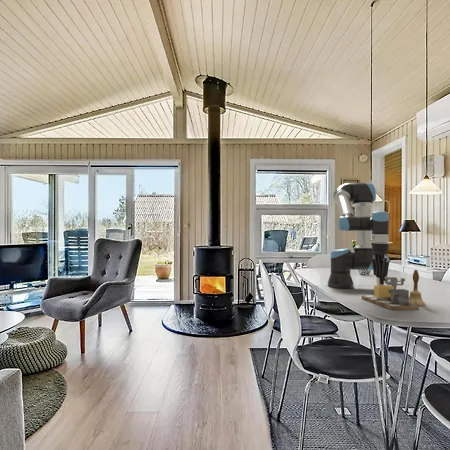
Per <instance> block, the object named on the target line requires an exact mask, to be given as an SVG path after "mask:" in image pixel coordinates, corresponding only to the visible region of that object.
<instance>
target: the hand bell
mask: <svg viewBox="0 0 450 450" xmlns="http://www.w3.org/2000/svg"><path fill="white" fill-rule="evenodd" d="M419 280H420V275H419V271H418V269H415V270H414V271H413V273H412V281H413V290H411V291H410V292H409V302H410V303H411V304H414V305H417V306H425V305H427V304H426V303H425V302H424V299H423V298H422V293H421V292H420V291H419V290H418V288H419V287H418V286H419V285H418V283H419Z"/></svg>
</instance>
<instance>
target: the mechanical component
mask: <svg viewBox="0 0 450 450" xmlns="http://www.w3.org/2000/svg"><path fill="white" fill-rule="evenodd" d="M405 281H406V279H405V277H404V278H403V277H400V280H399V279H398V277H392V276H387V277H385V278H384V285H390V286H394V289H398V287H397V286H403V285H404V282H405Z"/></svg>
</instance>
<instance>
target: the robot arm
mask: <svg viewBox="0 0 450 450" xmlns="http://www.w3.org/2000/svg"><path fill="white" fill-rule="evenodd" d="M333 200H334V203H335V204H336V207H337V209H338V214H339V217H338V218H337V228H338V230H339V231H345V232H349V231H351V232H355V246H353V250H351V248H349V247H347V248H338V249H332V250H331V251H330V273H329V274H330V275H329V277H328V281H327V286H328V287H330V288H336V289H352V288H354V282H353V277H352V275H351V271H352V270H353V271H354V270H355V271H372V272H373V273H372V274H373V275H374V276H375V277H376V286H379V285H385V281H384V278H385V277H388V275H389V274H388V273H389V267H390V262H391V257H388V253H387V252H388V251H389V249H390V247H389V242H390V239H389V238H390V235H389V233H390V232H389V227H390V226H389V225H390V224H389V220H390V218H389V213H388V211H373V212H372V213H371V207H372V206H373V205H374V202H375V201H376V200H377V192H376V188H375V185H374V184H373V183H371V182H354V183H353V182H352V183H351V182H350V183H349V182H347V183H343V184H341V185H339V186H338V187H337V188H336V189H335V190H334V192H333ZM353 207H355V212H354V209H353Z"/></svg>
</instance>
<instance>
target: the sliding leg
mask: <svg viewBox="0 0 450 450" xmlns="http://www.w3.org/2000/svg"><path fill="white" fill-rule="evenodd" d="M373 287H374V288H373V290H374V291H373V292H374V295H373V296H376V297H377V298H379V297H391V293H389V289H394V286H392V285H387V284H384V285H379V286H377V285H374V286H373ZM393 297H394V294H393Z"/></svg>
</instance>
